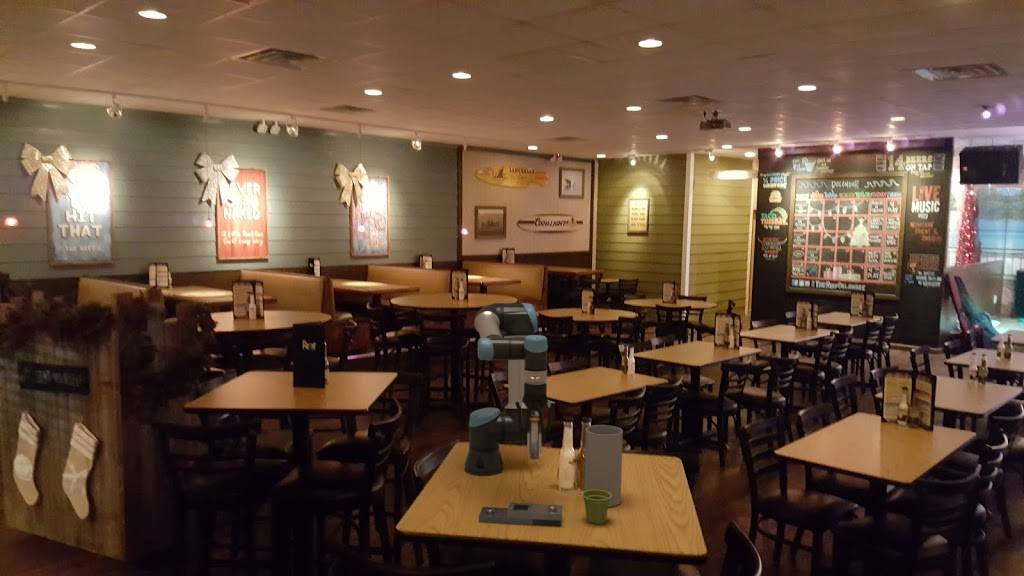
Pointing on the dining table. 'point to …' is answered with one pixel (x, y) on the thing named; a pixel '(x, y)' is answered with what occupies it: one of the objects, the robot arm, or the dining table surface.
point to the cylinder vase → (604, 460)
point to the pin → (534, 436)
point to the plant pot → (596, 505)
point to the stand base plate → (523, 514)
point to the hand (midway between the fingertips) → (534, 451)
